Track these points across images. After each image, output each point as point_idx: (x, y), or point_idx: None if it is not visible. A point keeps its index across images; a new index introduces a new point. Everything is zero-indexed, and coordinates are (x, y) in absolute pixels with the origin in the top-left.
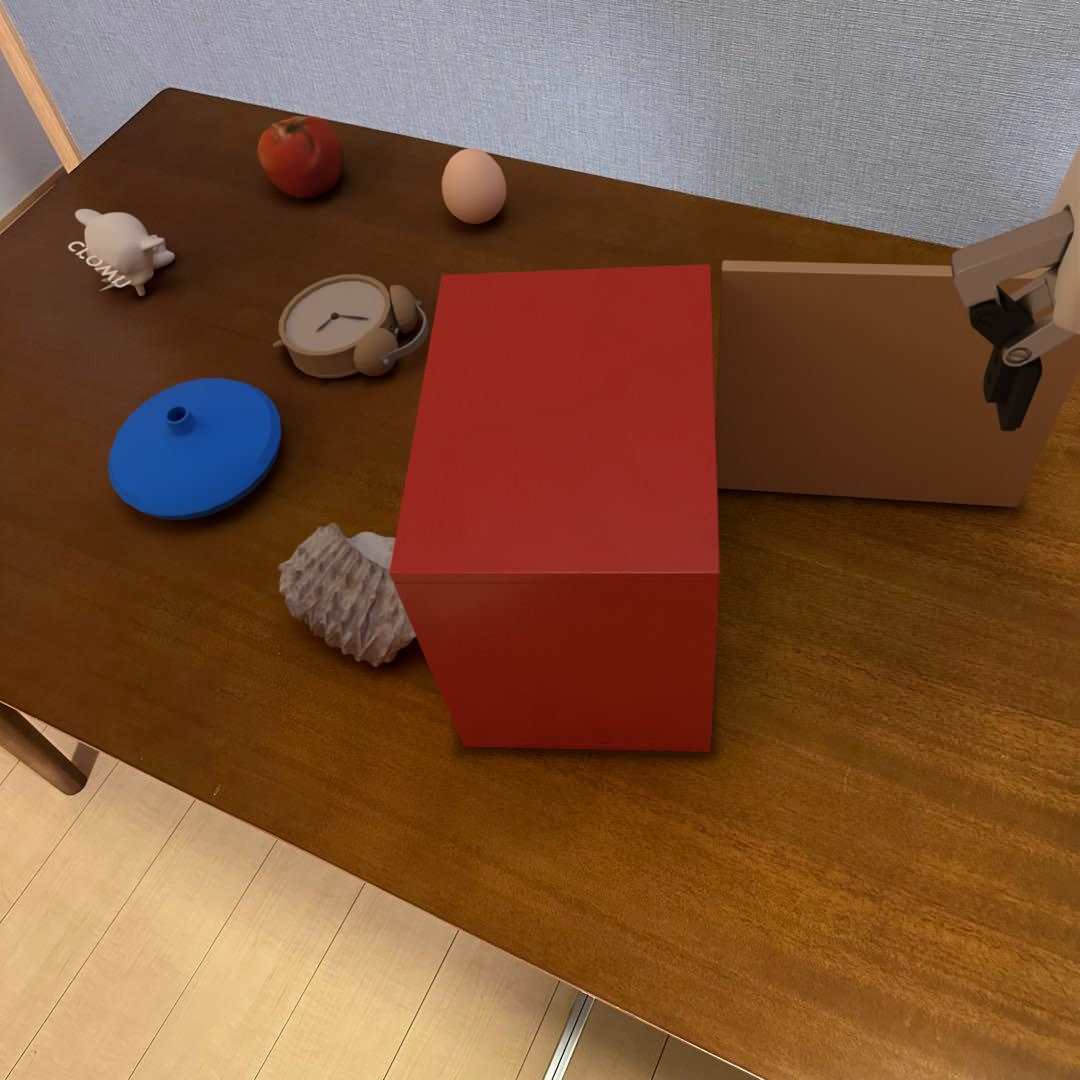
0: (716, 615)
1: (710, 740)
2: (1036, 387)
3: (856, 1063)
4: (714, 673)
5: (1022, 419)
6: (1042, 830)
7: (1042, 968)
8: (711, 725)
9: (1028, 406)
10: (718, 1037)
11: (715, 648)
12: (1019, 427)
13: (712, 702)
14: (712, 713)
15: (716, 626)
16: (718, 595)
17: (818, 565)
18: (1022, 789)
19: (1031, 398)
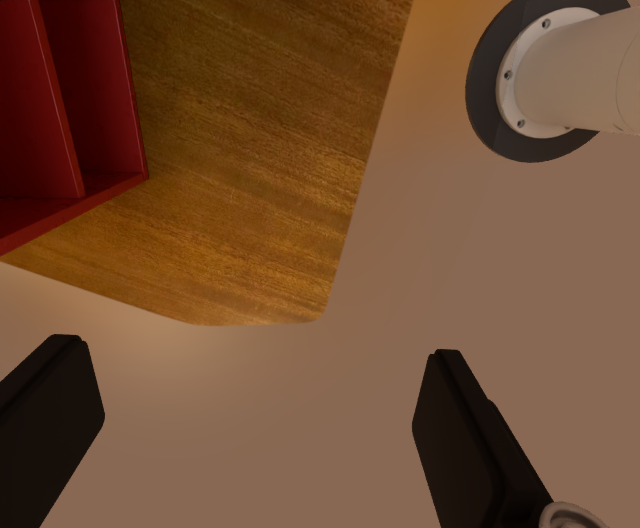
0: (27, 242)
1: (141, 182)
2: (41, 523)
3: (233, 323)
4: (89, 209)
5: (89, 445)
6: (334, 224)
7: (319, 286)
8: (130, 188)
9: (73, 470)
10: (172, 316)
11: (65, 222)
12: (101, 425)
13: (113, 197)
14: (122, 192)
15: (41, 234)
16: (3, 254)
17: (213, 16)
18: (329, 202)
19: (58, 495)
